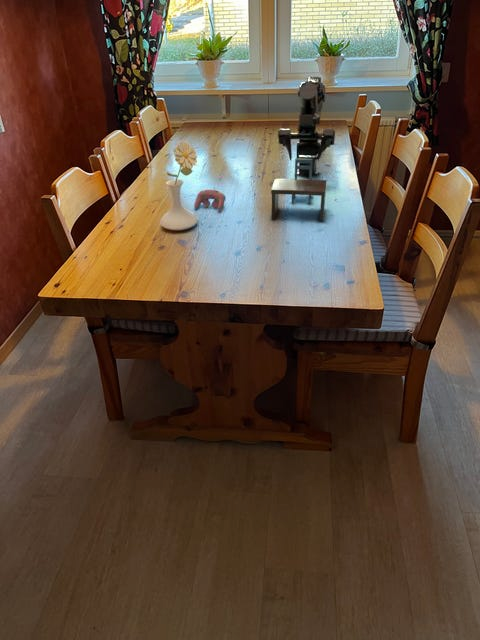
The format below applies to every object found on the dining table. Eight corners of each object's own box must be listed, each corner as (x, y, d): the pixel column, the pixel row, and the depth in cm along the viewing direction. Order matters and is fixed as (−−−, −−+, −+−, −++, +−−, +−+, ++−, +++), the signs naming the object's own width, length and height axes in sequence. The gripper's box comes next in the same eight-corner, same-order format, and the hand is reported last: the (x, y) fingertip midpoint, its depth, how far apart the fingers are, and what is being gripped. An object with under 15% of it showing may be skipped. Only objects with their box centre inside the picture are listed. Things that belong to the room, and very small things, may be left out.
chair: (293, 196, 170) (294, 158, 162) (311, 197, 169) (313, 158, 161) (291, 203, 165) (292, 164, 157) (310, 204, 163) (312, 165, 156)
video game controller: (225, 213, 164) (227, 191, 162) (220, 212, 159) (223, 189, 158) (197, 210, 166) (200, 189, 165) (192, 209, 162) (194, 187, 161)
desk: (275, 208, 162) (275, 178, 156) (324, 210, 159) (326, 180, 154) (271, 220, 154) (271, 189, 148) (323, 222, 151) (325, 191, 146)
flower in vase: (168, 237, 146) (158, 151, 132) (155, 223, 155) (144, 141, 141) (208, 227, 151) (202, 143, 137) (194, 214, 159) (187, 134, 145)
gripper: (278, 103, 161) (274, 147, 159) (337, 103, 158) (333, 148, 156) (281, 122, 172) (277, 164, 170) (335, 122, 169) (332, 165, 166)
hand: (304, 160), depth 165 cm, fingers open, 9 cm apart
